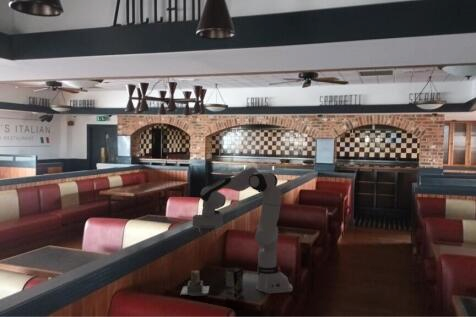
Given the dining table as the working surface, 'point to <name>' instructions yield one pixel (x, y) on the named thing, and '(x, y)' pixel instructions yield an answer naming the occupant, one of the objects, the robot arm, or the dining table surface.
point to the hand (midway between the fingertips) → (207, 232)
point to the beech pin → (195, 277)
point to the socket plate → (195, 290)
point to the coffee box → (234, 283)
